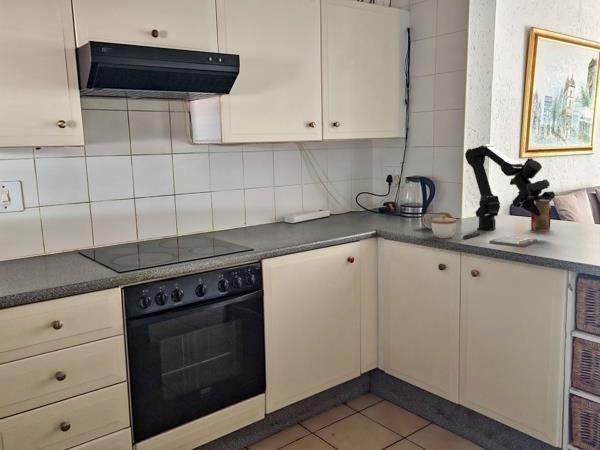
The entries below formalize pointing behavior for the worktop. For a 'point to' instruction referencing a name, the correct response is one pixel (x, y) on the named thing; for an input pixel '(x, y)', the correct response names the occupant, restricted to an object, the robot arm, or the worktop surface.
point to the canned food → (534, 219)
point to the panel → (511, 241)
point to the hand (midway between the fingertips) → (544, 215)
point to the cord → (471, 235)
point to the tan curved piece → (431, 215)
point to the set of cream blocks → (524, 240)
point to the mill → (542, 216)
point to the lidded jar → (443, 227)
